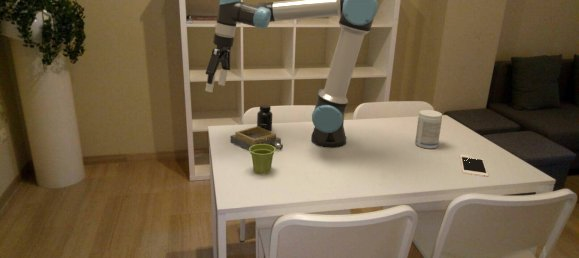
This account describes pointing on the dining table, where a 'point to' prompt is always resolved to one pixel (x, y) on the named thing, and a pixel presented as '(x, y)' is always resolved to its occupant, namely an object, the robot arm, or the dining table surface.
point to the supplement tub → (428, 129)
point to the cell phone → (473, 165)
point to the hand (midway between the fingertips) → (215, 88)
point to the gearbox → (255, 138)
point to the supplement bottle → (265, 117)
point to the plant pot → (262, 157)
